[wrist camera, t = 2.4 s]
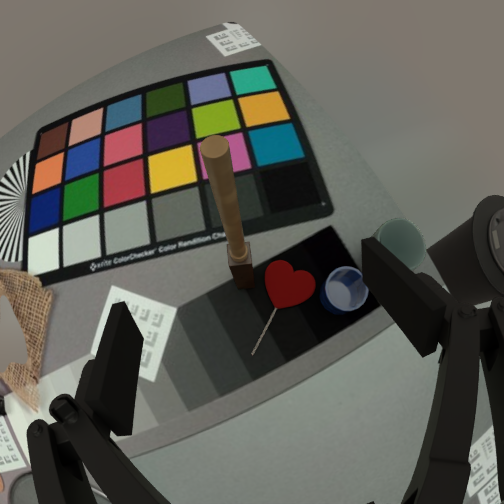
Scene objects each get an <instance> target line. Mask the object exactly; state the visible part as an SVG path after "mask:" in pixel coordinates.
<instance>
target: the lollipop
mask: <svg viewBox="0 0 504 504" xmlns="http://www.w3.org/2000/svg"><path fill="white" fill-rule="evenodd" d="M265 286H266V289H267V292H268V295H269V297H270V299H271V301H272V303H273V305H274V307H275V309H274V311H273V313H272V315H271V317H270V319H269V321H268V323H267V325H266V327H265V329H264V331H263V332H262V334H261V336H260V338H259V340H258V342H257V344H256V346H255V348H254V350H253V352H252V353H251V354H252V355H254V353H255V351H256V349H257V347H258V345H259V343H260V341H261V340H262V338H263V336H264V334H265V332H266V330H267V328H268V326H269V324H270V322H271V320H272V318H273V316H274V314H275V312H276V310H277V309H280V308H286V307H291V306H294V305H297V304H300V303H302V302H304V301H306V300H307V299H308V298H310V297H311V296H312V294H313V293H314V291H315V287H316V283H315V279H314V277H313V276H312V275H311V274H310V273H309V272H307V271H303V270H299V271H296V272H294V269H293V267H292V266H291V265H290V264H289V263H288V262H286V261H283V260H277V261H274V262H272V263H270V264H269V266H268V267H267V269H266V271H265Z"/></svg>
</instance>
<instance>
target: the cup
mask: <svg viewBox="0 0 504 504" xmlns="http://www.w3.org/2000/svg"><path fill="white" fill-rule="evenodd" d="M371 237H375V238H376V239H377V240H378V241H379V242H380V243H381V244H383V245H384V246H385V247H386V248H387V249H388V250H389V251H390V252H392V253H393V254H394V255H395V256H396V257H397V258H398V259H399V260H400V261H402V262H403V263H404V264H405V265H406V266H407V267H408V268H409V269H410V270H411V271H413V270H414V269H416V268H417V267H418V266H419V265H420V264H421V263H422V262H423V260H424V258H425V255H426V245H425V240H424V238H423V235H422V233H421V232H420V230H419V229H418V227H417V226H416V225H415V224H414V223H412V222H411V221H409V220H407V219H403V218H395V219H391V220H389V221H387V222H385V223H384V224H382V225H381V226H380V227H379V228H378V229H377V231H376V232H375V233H374V234H373V235H372V236H371Z"/></svg>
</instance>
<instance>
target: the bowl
mask: <svg viewBox="0 0 504 504" xmlns="http://www.w3.org/2000/svg"><path fill="white" fill-rule="evenodd" d="M368 290H369V289H368V288H367V286H366V285H365V284H364V283H363V282H362V273H361V272H360V271H359V270H358V269H355V268H353V267H348V266H343V267H340V268H337V269H335V270H334V271H333V272H331V273H330V275H329V276H328V277H327V278H326V279H325V280H324V282H323V283H322V285H321V287H320V292H319V295H320V301H321V303H322V305H323V306H324V308H325V309H326V310H327V311H329V312H331V313H333V314H337V315H342V314H346V313H348V312H351V311H353V310H356V309H358V308H359V307H360V306H361V305H363V304H364V302H365V300H366V299H367V296H368Z"/></svg>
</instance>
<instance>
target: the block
mask: <svg viewBox="0 0 504 504" xmlns="http://www.w3.org/2000/svg"><path fill="white" fill-rule="evenodd" d="M245 245H246V246H247V249H248V257H247V258H246V260H244V261H242V262H236V261H234V260H233V259H232V258H231V256H230V253H229V249H230V247H229V244H227V252H228V263H229V268H230V270H231V273H232V275H233V278H234V280H235V283H236V285H237V288H238V289H245V288H253V287H255V284H254V276H253V267H252V258H251V250H250V242H245Z"/></svg>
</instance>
